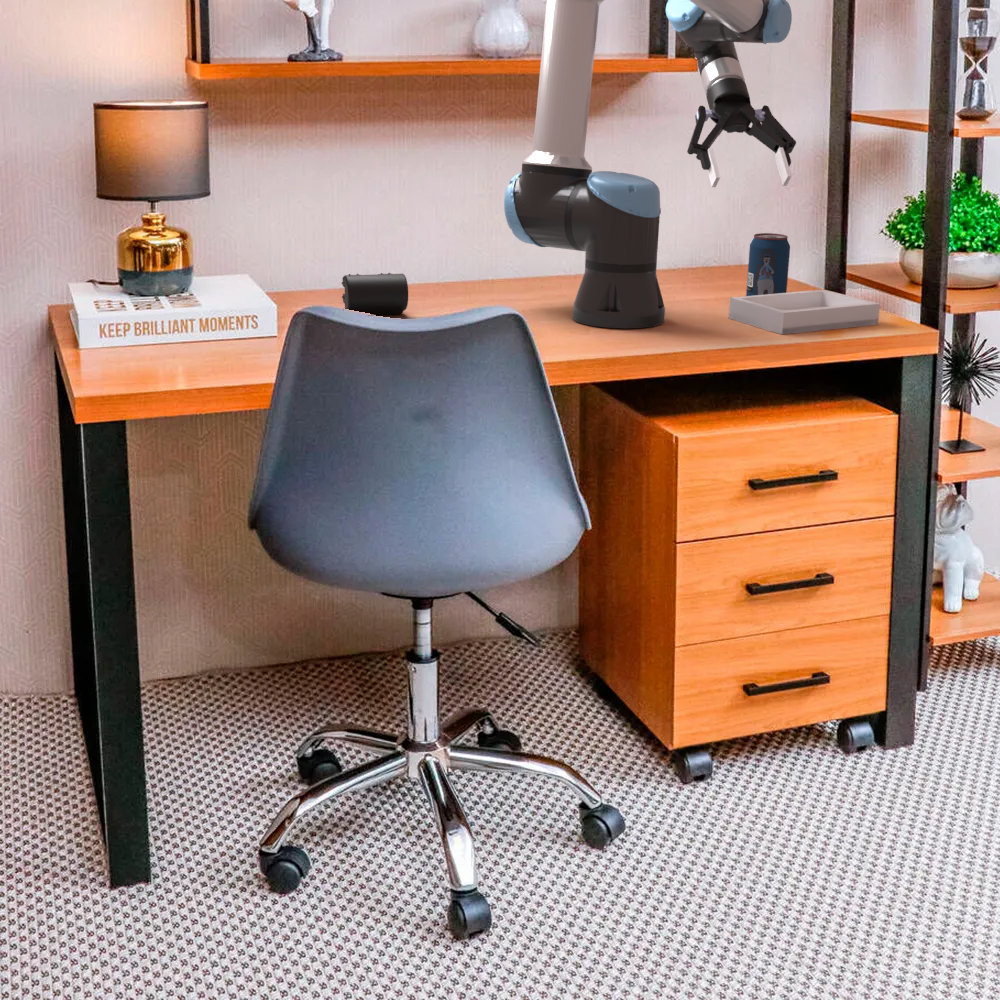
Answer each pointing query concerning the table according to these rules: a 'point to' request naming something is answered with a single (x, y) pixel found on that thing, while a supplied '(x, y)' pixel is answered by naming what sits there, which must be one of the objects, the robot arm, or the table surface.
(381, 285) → the end cap
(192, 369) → the table surface
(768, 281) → the soda can
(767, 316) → the tray
